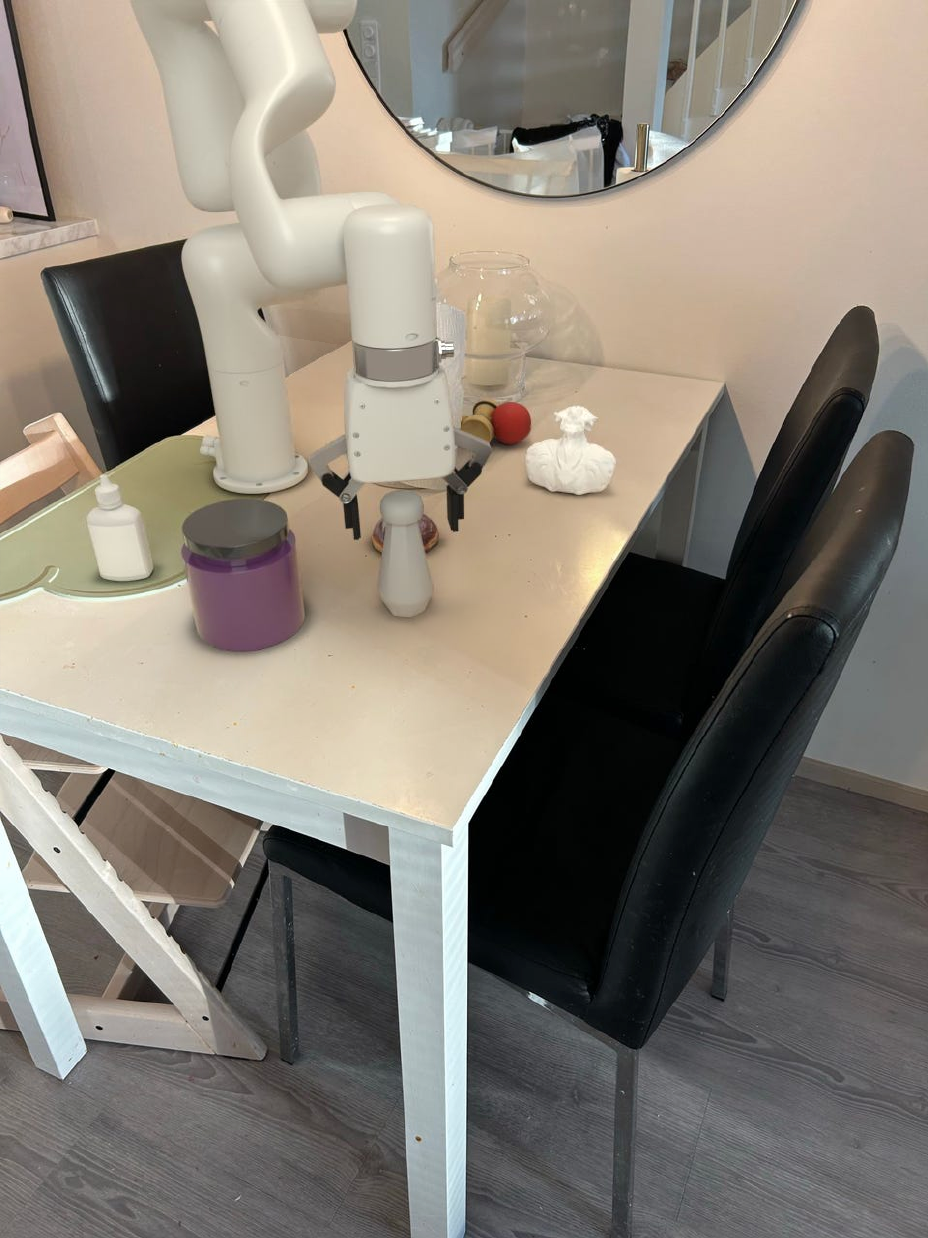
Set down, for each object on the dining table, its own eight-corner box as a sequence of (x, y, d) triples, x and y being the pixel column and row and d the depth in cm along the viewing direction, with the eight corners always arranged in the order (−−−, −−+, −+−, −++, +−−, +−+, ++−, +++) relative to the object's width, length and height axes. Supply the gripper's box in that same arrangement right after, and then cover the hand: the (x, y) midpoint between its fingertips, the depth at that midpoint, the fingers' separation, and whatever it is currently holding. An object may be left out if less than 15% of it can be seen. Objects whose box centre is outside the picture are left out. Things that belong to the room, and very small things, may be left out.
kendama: (406, 451, 132) (525, 448, 126) (401, 408, 129) (522, 403, 124) (423, 441, 138) (537, 437, 133) (419, 399, 136) (535, 394, 131)
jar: (174, 637, 90) (151, 537, 84) (235, 584, 99) (219, 489, 92) (269, 661, 87) (253, 558, 80) (324, 603, 95) (313, 506, 89)
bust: (612, 505, 119) (627, 422, 120) (608, 492, 112) (623, 404, 112) (525, 493, 122) (539, 413, 123) (515, 480, 115) (530, 394, 115)
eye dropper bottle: (132, 589, 98) (107, 489, 91) (94, 577, 100) (67, 478, 93) (160, 571, 101) (138, 473, 94) (123, 559, 103) (99, 463, 96)
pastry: (374, 560, 103) (371, 521, 100) (369, 529, 109) (366, 491, 106) (443, 554, 104) (442, 515, 101) (434, 524, 110) (433, 487, 107)
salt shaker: (426, 625, 92) (422, 511, 85) (372, 619, 93) (364, 506, 86) (439, 595, 97) (436, 485, 89) (387, 589, 98) (381, 480, 90)
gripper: (484, 340, 84) (484, 506, 93) (297, 351, 82) (316, 519, 91) (498, 365, 78) (497, 539, 87) (297, 377, 76) (318, 555, 85)
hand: (405, 529), depth 89 cm, fingers open, 9 cm apart
